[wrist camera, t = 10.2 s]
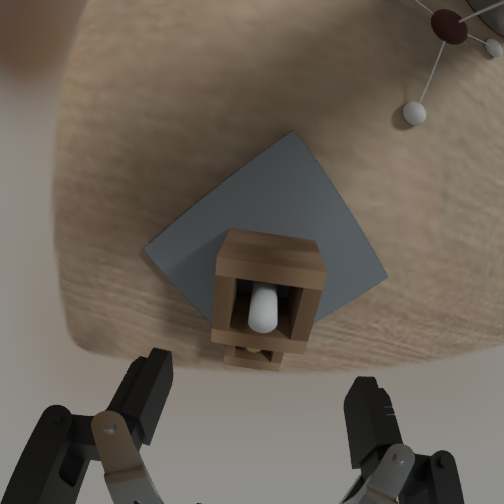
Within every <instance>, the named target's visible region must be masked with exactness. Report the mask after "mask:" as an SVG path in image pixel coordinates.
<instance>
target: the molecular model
mask: <svg viewBox="0 0 504 504" xmlns="http://www.w3.org/2000/svg"><path fill="white" fill-rule="evenodd" d="M414 1H416V2H417V3H419V4H420V5H421V6H423V7H424V8H425V9H427V10H428V11H429V12H431V13H432V14H433V15H432V17H431V26H432V29H433V31H434V33H435V34H436V35H437V36H438V37H439V38H440V39H441V40H442V41H443V44H442V47H441V49H440V52H439V54H438V57H437V60H436V62H435V65H434V67H433V70H432V72H431V75H430V77H429V79H428V82H427V84H426V87H425V89H424V91H423V93H422V96H421V98H420V100H419V103H417V102H409V103H407V104H406V105H405V106H404V108H403V116H404V118H405V120H406V121H407V122H408V123H409V124H411V125H416V126H417V125H421V124H422V123H423V122H424V121H425V119H426V112H425V109H424V108H423V106H422V105H421V101H422V99H423V97H424V95H425V92H426V90H427V88H428V85H429V83H430V81H431V78H432V76H433V73H434V71H435V68H436V66H437V63H438V61H439V58H440V56H441V53H442V50H443V48H444V45H445V42H446V43H448V44H453V45H457V44H461V43H462V42H464V41H465V40H466V38H467V36H470V37H472V38H474V39H476V40H478V41H480V42H482V43H485V47H486V50H487V51H488V53H489V54H490V55H492V56H494V57H499V56H501V55H502V47H501V45H500V44H499V43H498V42H497V41H496V40H494V39H488V40H487V41H486V42H484V41H482V40H480V39H478V38H476V37H474V36H471V35H469V34H468V30H467V26H466V24H465V22H464V21H465V20H467V19H469V18H471V17H474V16H476V15H478V14H480V13H483V12H485V11H487V10H490V9H492V8H494V7H497V6H499V5H502V4H504V1H501V2H499V3H496V4H494V5H492V6H489V7H487V8H485V9H483V10H480V11H478V12H476V13H474V14H472V15H470V16H467V17H465V18H463V19H462V18H461V17H460V16H459V15H458V14H456V13H455V12H453V11H450V10H447V9H441V10H438V11H436V12H435V13H433V12H432V11H431V10H429V9H428V8H427V7H426V6H424V5H423V4H422V3H420V2H419V1H417V0H414Z"/></svg>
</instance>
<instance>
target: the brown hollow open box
mask: <svg viewBox="0 0 504 504" xmlns="http://www.w3.org/2000/svg"><path fill="white" fill-rule="evenodd" d="M326 277H327V270H326V267H325V264H324V262H323V259H322V256H321V254H320V251H319V248H318V246H317V243H316V241H315V240H309V239H303V238H296V237H289V236H283V235H276V234H270V233H263V232H256V231H249V230H242V229H235V228H230V229H229V231H228V233H227V236H226V238H225V240H224V242H223V244H222V246H221V249H220V251H219V253H218V255H217V261H216V273H215V286H214V299H213V313H212V329H211V342H215V343H221V344H225V351H224V362H223V364H226V365H232V366H239V367H245V368H253V369H260V370H269V371H277V372H278V371H279V368H280V364H281V361H282V357H283V353H284V352H286V353H295V354H304V351H305V348H306V345H307V341H308V338H309V335H310V332H311V329H312V326H313V322H314V319H315V316H316V312H317V309H318V306H319V302H320V299H321V295H322V291H323V288H324V284H325V281H326ZM240 279H245V280H252V281H259V282H266V283H273V284H280V285H287V286H290V289H289V294H288V298H284V297H277V326H276V327H275V329H274V330H272V331H271V332H268V333H258V332H256V331H254V330H252V329H251V327H250V326H249V323H248V319H249V311H250V304H251V297H252V293H249V292H242V291H238V288H239V280H240ZM247 348H253V349H261V350H260V351H259V352H256V353H253V352H250V351H248V350H247Z"/></svg>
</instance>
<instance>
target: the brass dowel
mask: <svg viewBox="0 0 504 504" xmlns="http://www.w3.org/2000/svg"><path fill="white" fill-rule="evenodd" d="M247 350H248V351H250V352H253V353H256V352H259V351H260V350H261V349H253V348H247Z"/></svg>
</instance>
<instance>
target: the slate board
mask: <svg viewBox="0 0 504 504" xmlns="http://www.w3.org/2000/svg"><path fill="white" fill-rule="evenodd" d="M230 228H235V229H242V230H249V231H256V232H263V233H270V234H276V235H283V236H289V237H296V238H303V239H309V240H315V241H316V243H317V246H318V248H319V251H320V254H321V256H322V259H323V262H324V264H325V267H326V270H327V277H326V281H325V284H324V288H323V291H322V295H321V299H320V302H319V306H318V309H317V312H316V316H315V319H314V322H313V323H315V322H317V321H318V320H320V319H322V318H323V317H325V316H327V315H329V314H330V313H332V312H334V311H335V310H337V309H339V308H340V307H342V306H344V305H345V304H347V303H349V302H350V301H352V300H353V299H355V298H357V297H358V296H360V295H361V294H363V293H365V292H366V291H368V290H369V289H371V288H372V287H374V286H375V285H377V284H378V283H380V282H381V281H383V280H384V279H386V278H387V277H388V275H387V274H386V272H385V270H384V268H383V266H382V264H381V263H380V261H379V259H378V257H377V255H376V254H375V252H374V250H373V248H372V246H371V245H370V243H369V241H368V240H367V238H366V236H365V234H364V233H363V231H362V229H361V228H360V226H359V224H358V223H357V221H356V220H355V218H354V216H353V215H352V213H351V211H350V210H349V208H348V207H347V205H346V204H345V202H344V200H343V199H342V197H341V196H340V194H339V193H338V191H337V190H336V188H335V187H334V185H333V184H332V182H331V181H330V179H329V178H328V176H327V175H326V173H325V172H324V170H323V169H322V168H321V166H320V165H319V163H318V162H317V160H316V159H315V158H314V156H313V155H312V153H311V152H310V151H309V149H308V148H307V147H306V145H305V144H304V142H303V141H302V140H301V138H300V137H299V136H298V134H297V133H296V132H295V130H293V131H291V132H290V133H288V134H287V135H285V136H284V137H283V138H281V139H280V140H278V141H277V142H276V143H274V144H273V145H271V146H270V147H269V148H267V149H266V150H264V151H263V152H262V153H260V154H259V155H258V156H256V157H255V158H254V159H252V160H251V161H250V162H248V163H247V164H246V165H244V166H243V167H242V168H240V169H239V170H238V171H236V172H235V173H234V174H232V175H231V176H230V177H229V178H227V179H226V180H225V181H223V182H222V183H221V184H220V185H218V186H217V187H216V188H215V189H213V190H212V191H211V192H210V193H208V194H207V195H206V196H205V197H203V198H202V199H201V200H200V201H199V202H197V203H196V204H195V205H194V206H192V207H191V208H190V209H189V210H188V211H186V212H185V213H184V214H183V215H182V216H180V217H179V218H178V219H177V220H176V221H175V222H173V223H172V224H171V225H170V226H169V227H168V228H166V229H165V230H164V231H163V232H162V233H161V234H160V235H158V236H157V237H156V238H155V239H154V240H153V241H152V242H150V243H149V244H148V245H147V246H146V247H145V248H144V249H143V250H144V251H145V252H146V254H147V255H148V256H149V257H150V258H151V259H152V261H153V262H154V263H155V264H156V265H157V266H158V267H159V269H160V270H161V271H162V272H163V273H164V274H165V275H166V276H167V277H168V279H169V280H170V281H171V282H172V283H173V284H174V285H175V286H176V287H177V288H178V290H179V291H180V292H181V293H182V294H183V295H184V296H185V297H186V298H187V299H188V300H189V301H190V302H191V303H192V305H193V306H194V307H195V308H196V309H197V310H198V311H199V312H200V313H201V314H202V315H203V316H204V317H205V318H206V319H207V320H208V321H209V322H210V323H211V324H212V313H213V299H214V286H215V273H216V261H217V255H218V253H219V251H220V249H221V246H222V244H223V242H224V240H225V238H226V236H227V233H228V231H229V229H230ZM289 289H290V286H287V285H280V284H273V283H266V282H259V281H252V280H245V279H240V280H239V288H238V291H242V292H249V293H252V297H251V304H250V311H249V319H248V323H249V326H250V327H251V329H252V330H254V331H256V332H258V333H268V332H271V331H272V330H274V329H275V327H276V326H277V297H284V298H288V294H289Z"/></svg>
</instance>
